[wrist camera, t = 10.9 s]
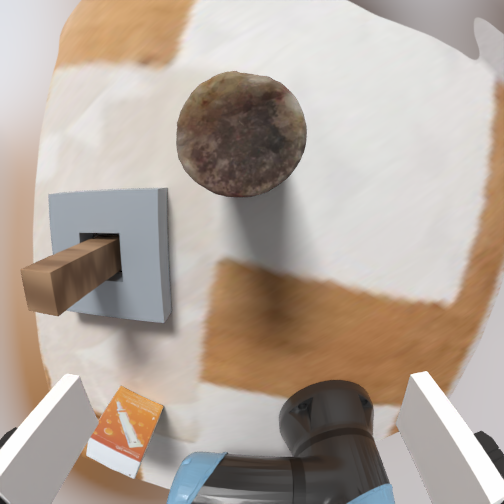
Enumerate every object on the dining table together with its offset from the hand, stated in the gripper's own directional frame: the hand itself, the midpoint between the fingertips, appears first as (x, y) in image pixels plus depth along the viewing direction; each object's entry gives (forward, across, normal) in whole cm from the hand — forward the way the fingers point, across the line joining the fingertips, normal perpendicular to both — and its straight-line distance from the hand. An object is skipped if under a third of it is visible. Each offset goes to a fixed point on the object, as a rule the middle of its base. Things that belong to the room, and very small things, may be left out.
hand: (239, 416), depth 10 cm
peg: (+27, +19, -1) cm, 33 cm away
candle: (+27, 0, -12) cm, 29 cm away
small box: (+28, +21, +26) cm, 43 cm away
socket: (+27, +19, -1) cm, 33 cm away
